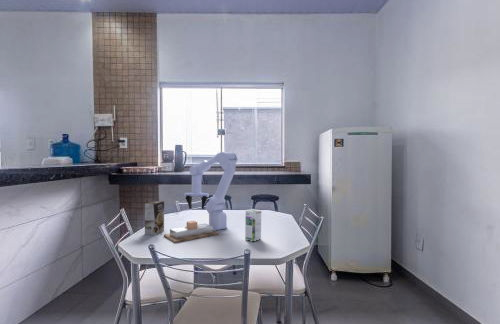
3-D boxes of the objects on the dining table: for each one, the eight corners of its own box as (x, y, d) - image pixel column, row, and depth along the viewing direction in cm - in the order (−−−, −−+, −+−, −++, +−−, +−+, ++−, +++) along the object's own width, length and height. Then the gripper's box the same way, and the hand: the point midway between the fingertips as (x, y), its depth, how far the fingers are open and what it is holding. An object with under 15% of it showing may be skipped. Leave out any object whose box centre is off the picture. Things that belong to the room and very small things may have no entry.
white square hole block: (205, 229, 151) (205, 223, 151) (212, 231, 145) (212, 226, 145) (170, 235, 139) (170, 229, 139) (176, 238, 133) (176, 232, 133)
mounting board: (205, 229, 155) (205, 227, 155) (219, 234, 144) (219, 232, 144) (163, 236, 140) (163, 234, 140) (175, 243, 129) (175, 240, 129)
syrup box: (244, 240, 134) (244, 210, 134) (252, 237, 139) (252, 208, 139) (253, 242, 131) (253, 211, 130) (261, 239, 135) (261, 209, 135)
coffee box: (155, 235, 142) (155, 203, 142) (144, 234, 143) (144, 203, 143) (164, 230, 151) (164, 201, 151) (153, 230, 152) (153, 200, 152)
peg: (193, 232, 144) (193, 220, 144) (197, 233, 141) (197, 222, 141) (186, 233, 142) (186, 221, 142) (190, 235, 139) (190, 223, 139)
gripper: (182, 186, 162) (182, 209, 162) (206, 186, 161) (206, 210, 161) (186, 185, 169) (186, 207, 169) (209, 185, 168) (209, 208, 168)
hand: (196, 208), depth 166 cm, fingers open, 7 cm apart
